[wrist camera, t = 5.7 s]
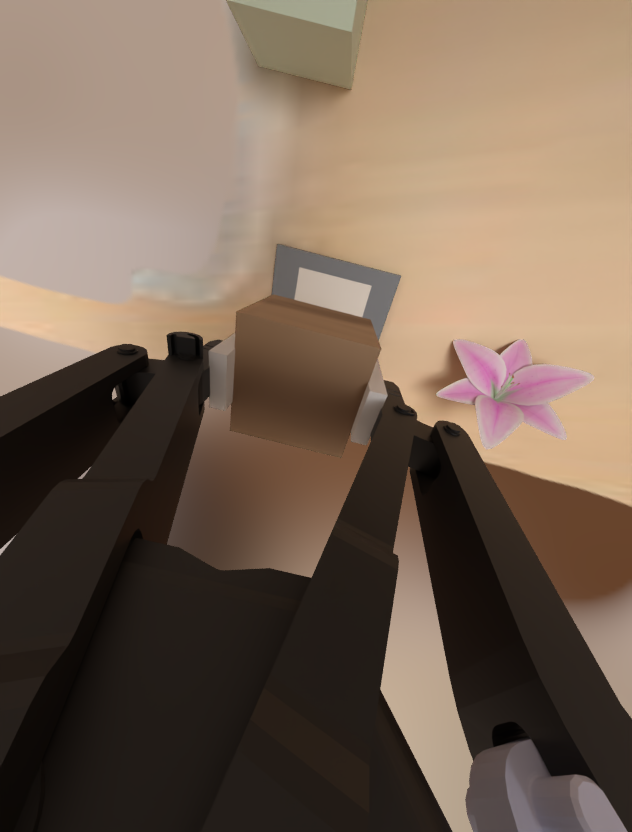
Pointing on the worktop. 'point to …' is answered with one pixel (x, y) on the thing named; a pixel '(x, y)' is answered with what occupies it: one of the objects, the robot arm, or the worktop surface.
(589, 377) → the lily
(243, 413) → the walnut block
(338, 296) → the slate build plate
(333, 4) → the sage block
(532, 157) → the worktop surface
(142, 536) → the robot arm
